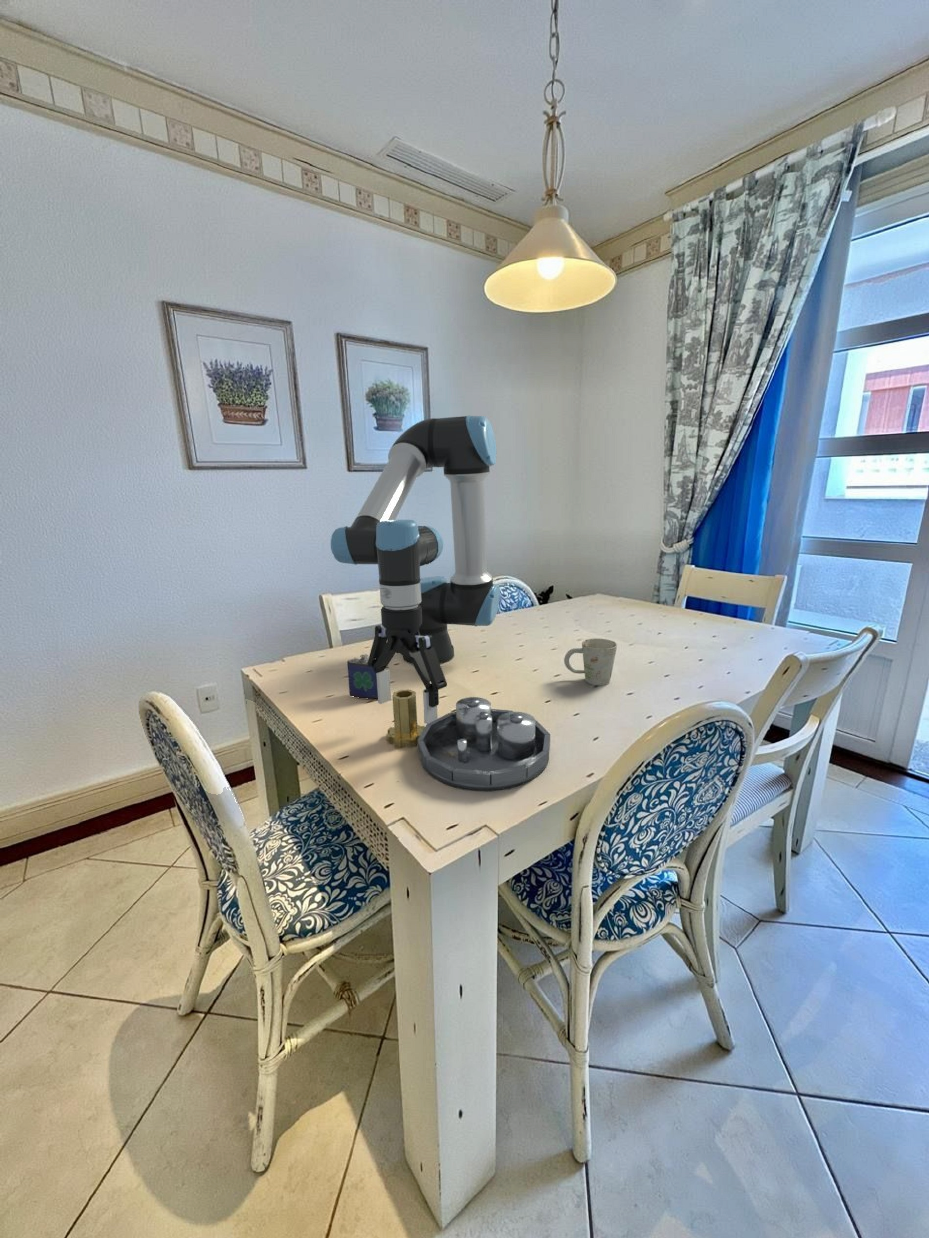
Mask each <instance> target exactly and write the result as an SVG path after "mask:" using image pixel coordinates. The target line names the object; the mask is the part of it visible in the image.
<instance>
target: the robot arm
mask: <svg viewBox="0 0 929 1238" xmlns="http://www.w3.org/2000/svg"><path fill="white" fill-rule="evenodd" d="M387 457H388V458H387V460H388V461H387V463H386V465H385V467H384V468H383V470H382V472H381V473H380V475H379V477H378V478H377V480H376V482H375V484H374V486H373V488H372V490H371V491H370V493H369V494H368V496H367V498H366V500H365V502H364V503H363V505H362V506H361V509H360V511H359V512H358V513H357V516H356V518H355V519H354V521H353V522H352V523H351V525H350V526H346V525H345V526H341V527H337V528H336V529H334V531H333V532H332V534H331V538H330V551H331V554H332V555H333V557H334V559H335V560H336V561H338V562H339V563H342V564H348V565H349V564H351V565H354V566H355V565H377V566H378V583H379V595H380V596H379V598H380V601H379V602H380V604H381V605H382V607H381V608H380V616H381V624H379V625H376V626H375V627H374V638H373V641H372V645H371V649H370V651H369V655H368V658H367V661H368V662H367V664H368V666H369V667H372V668H373V670H374V672H375V675H376V684H377V690H378V700H377V701H378V704H379V705H383V704H385V703H387V702H390V701H391V700H392V695H391V694H392V693H391V690H392V689H391V678H390V677H391V676H390V675H391V674H390V669H389V664H390V663H391V662H392V660H393V658H394V657H395V655H396V654H400V655H401V656H402V660H403V661H405V662H406V663H408V664H411V665H412V666H413V667H414V669H415V671H416V673H417V675H418V676H419V678H420V680H421V682H422V684H423V686H424V687H425V689H423V690H422V698H423V699H422V700H423V701H422V703H423V722H424V724H426V725H427V724H429V723H431V722H433V721H435V720H437V719H438V706H439V703H440V700H439V699H440V696H439V695H440V693H439V690H441V689H443V688H446V687H447V686H448V682H447V680H446V676H445V675H444V674H445V673H444V671H443V669H442V665H441V664H444V663H447V662H449V661H451V660H452V659H453V658H454V657H455V647H454V645H453V643H452V640H451V637H450V633H449V631H448V625H460V626H473V627H488V626H490V625H492V624H493V622H494V621H495V620H496V619H495V618H496V617H497V616H496V615H497V613H498V609H499V604H500V596H501V595H500V594H501V590H500V586H499V584H497V583H494V582H493V580H494V579H493V575H492V574H491V573H490V572H488V568H487V566H488V565H487V561H488V560H487V540H486V539H487V537H486V536H487V534H486V508H485V507H486V506H485V505H486V504H485V503H486V502H485V479H486V478H487V477H488V476H489V475H490V467H492V466H495V464H496V462H497V444H496V437H495V434H494V430H493V427H492V424H491V422H490V421H489V419H488V418H487V417H486V416H482V415H465V416H452V417H451V416H450V417H439V418H434V417H432V418H426V419H423V420H421V421H419V422H416V423H415V424H413V425H412V426H410V427H409V428H407V429H406V430H404V432H403V433H402V434H400V435H399V436H398V437H397V439H396V440H395V442H393V444H392V446H391V448H390V449H389V451H388V456H387ZM430 468H443V475H444V477H445V478H446V479H447V480H448V481H449V483H450V497H451V499H450V501H451V514H452V515H451V518H452V519H451V520H452V535H453V536H452V538H453V552H454V553H453V555H454V557H453V558H454V570H455V572H454V573H453V575H452V576H450V580H449V582H447V579H446V577H445V576H441V575H439V576H428V577H423V578H421V567H422V566H425V565H429V564H432V563H433V562H434V561H436V560H437V559H438V558H439V557H440V556H441V554H442V552H443V549H444V541H443V537H442V535H441V533H440V532H439V531H438V530H437V529H436V528H434V527H431V526H428V525H427V526H426V525H418V523H417V522H416V521H415V520H414V519H397V517H398V515H399V513H400V511H401V509H402V507H403V505H404V503H405V500H406V499H407V497H408V496H409V494H410V491H411V489H412V487H413V485H414V483H415V481H416V479H417V478H418V477H420V476H421V475H423V473H425V470H427V469H430Z"/></svg>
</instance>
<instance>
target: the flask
mask: <svg viewBox="0 0 929 1238" xmlns="http://www.w3.org/2000/svg"><path fill="white" fill-rule="evenodd" d="M368 657H369V655H368V654H367V653H364V654H360V659H359V658H356V657H354V658H351V659H348V660H347V662H346V663H347V665H346V666H347V676H348V691H349V697H350V696H354V697H359V698H364V699H365V698H368V699H367V700H375V699H378V690H377V684H376V675H375V672H374V670H373V668H372V667H369V666H368V664H367V662H368ZM359 698H358V699H359Z"/></svg>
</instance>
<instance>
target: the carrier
mask: <svg viewBox="0 0 929 1238" xmlns="http://www.w3.org/2000/svg"><path fill="white" fill-rule="evenodd" d="M491 705H492V704H491V702H490V701H489V700H488V699H487V698H483V697H478V696H469V697H464V698H461V699H459V700H458V701H456V703H455V711H452V712H448V713H446V714H444V715H443V716H440V717H439V718H438V717H437V718H438V719H437V720H435V721H433V722H431V723H429V724H426V725H424V727H425V728H424V730H423V731H422V733H421V735H420V736H419V738H418V740H417V744H416V747H417V752H418V754H419V757H420V759H419V761H420V763H421V766H422V767H423V769H424V771H426V773H427V775H429V776H430V777H432V778H433V779H435V780H437V781H438V782H440V783H442V784H444V785H447V786H449V787H453V788H456V789H461V790H466V791H476V792H477V791H478V792H494V791H495V792H496V791H503V790H508V789H512V788H517V787H520V786H522V785H526V784H527V783H530V782H531V781H533V780H534V779H536V778H537V777H539V776H540V775H541V774H542V773H543V772H544V771H545V770H546V768H547V766H548V764H549V761H550V751H551V748H550V747H551V733H550V732H548V730H547V729H546V728H544V726H543V725H542V724H541V723H539V721H538V720H537V719H536V718H535V717H534V716H533V715H532V714H530V713H527V712H522V711H513V710H509V709H499V708H492V706H491Z"/></svg>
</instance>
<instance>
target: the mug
mask: <svg viewBox="0 0 929 1238" xmlns="http://www.w3.org/2000/svg"><path fill="white" fill-rule="evenodd" d="M617 648H618V645H617V643H616V641H614V640H611V639H606V638H599V637H598V638H595V637H594V638H587V639H584V640H583V641H582V642H581V648H580V647H579V648H577V647H575V648H571V649H570V650H567V653H566V654H565V655H564V659H563V663H564V667H566V669H567V670H569V671H570V672H571V673H574V674H584V680H585V682H586V684H587V683H588V684H589V685H593V686H606V685H609V684H610V682H611V678H612V674H613V669H614V668H613V667H614V663H615V659H616V654H617ZM574 654H582V660H583V669H584V670H583V669H575V668H573V666H572V665H571V664H570V658H571V656H572V655H574Z"/></svg>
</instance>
